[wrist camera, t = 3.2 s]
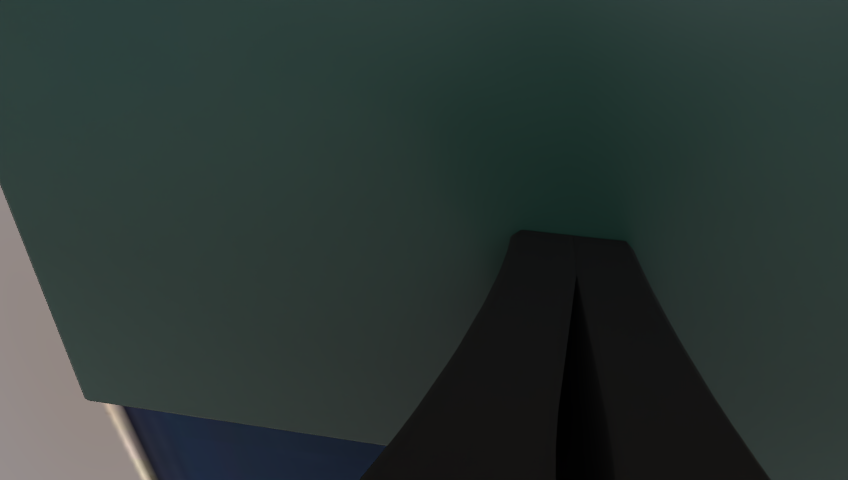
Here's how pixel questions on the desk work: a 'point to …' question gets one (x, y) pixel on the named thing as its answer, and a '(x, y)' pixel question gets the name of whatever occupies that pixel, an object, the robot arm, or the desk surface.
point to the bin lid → (427, 194)
